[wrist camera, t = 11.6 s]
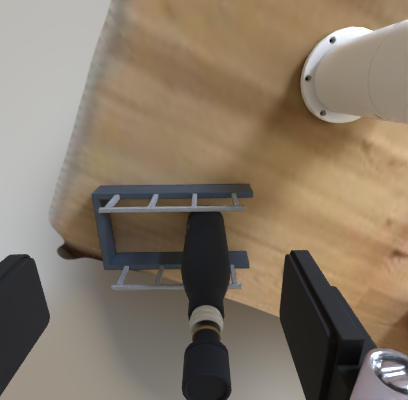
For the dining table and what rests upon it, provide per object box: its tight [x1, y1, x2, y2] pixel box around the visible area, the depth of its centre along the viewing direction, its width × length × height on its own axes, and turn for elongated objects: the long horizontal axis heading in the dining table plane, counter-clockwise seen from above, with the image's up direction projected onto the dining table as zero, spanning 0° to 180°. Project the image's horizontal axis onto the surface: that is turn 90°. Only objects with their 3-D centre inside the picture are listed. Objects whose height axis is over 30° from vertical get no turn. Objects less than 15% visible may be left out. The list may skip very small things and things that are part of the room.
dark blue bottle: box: [181, 211, 231, 400], centre depth 36 cm, size 6×6×30 cm
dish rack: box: [92, 184, 253, 290], centre depth 45 cm, size 25×14×10 cm, turn 91°
